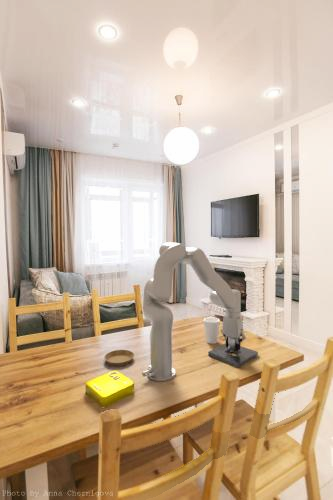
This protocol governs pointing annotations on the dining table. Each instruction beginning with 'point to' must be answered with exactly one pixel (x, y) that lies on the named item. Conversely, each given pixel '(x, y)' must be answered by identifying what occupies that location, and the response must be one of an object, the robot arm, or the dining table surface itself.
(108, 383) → the element tile
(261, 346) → the dining table surface
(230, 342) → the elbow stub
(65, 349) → the dining table surface
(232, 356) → the flange
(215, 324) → the foam cup
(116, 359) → the plant saucer
